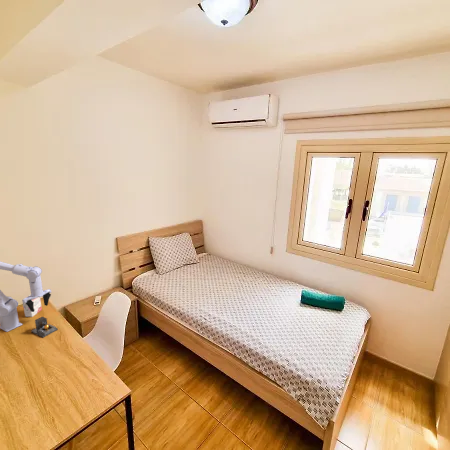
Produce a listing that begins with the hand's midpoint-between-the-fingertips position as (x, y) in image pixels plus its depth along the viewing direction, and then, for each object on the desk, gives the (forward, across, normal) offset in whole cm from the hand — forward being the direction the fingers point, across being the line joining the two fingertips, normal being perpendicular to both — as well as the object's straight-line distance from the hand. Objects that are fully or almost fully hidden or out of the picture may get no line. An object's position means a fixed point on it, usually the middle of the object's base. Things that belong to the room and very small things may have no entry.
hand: (39, 308), depth 149 cm
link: (+9, -4, -11) cm, 14 cm away
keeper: (+10, -4, -10) cm, 15 cm away
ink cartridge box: (+10, +4, +16) cm, 19 cm away
